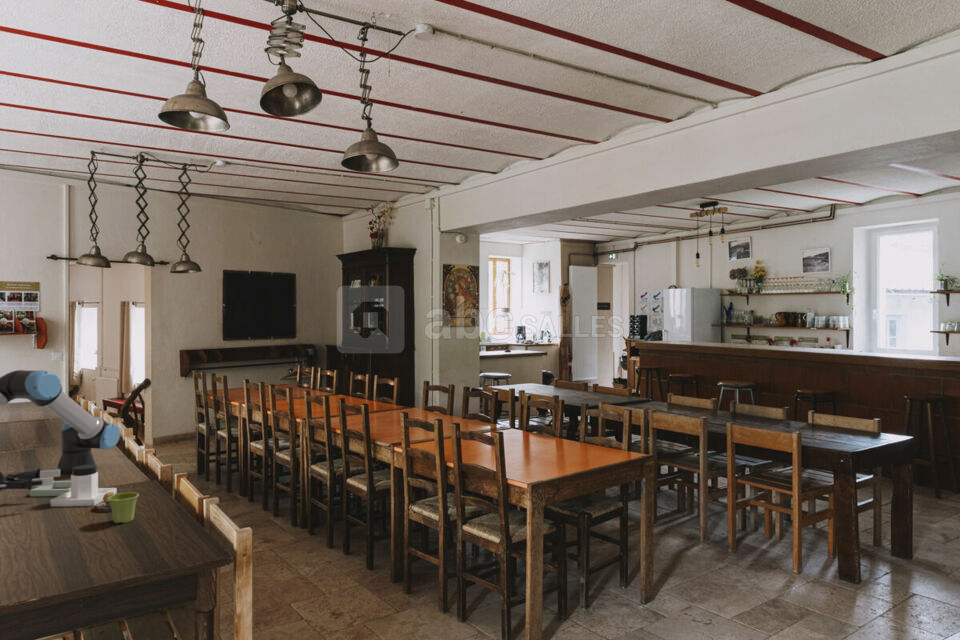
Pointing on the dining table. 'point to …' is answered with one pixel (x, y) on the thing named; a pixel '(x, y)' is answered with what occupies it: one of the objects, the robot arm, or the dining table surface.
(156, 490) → the dining table surface
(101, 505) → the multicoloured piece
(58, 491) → the pale green square frame
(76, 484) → the jar
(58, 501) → the tray
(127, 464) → the dining table surface
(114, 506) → the plant pot
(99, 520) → the dining table surface
